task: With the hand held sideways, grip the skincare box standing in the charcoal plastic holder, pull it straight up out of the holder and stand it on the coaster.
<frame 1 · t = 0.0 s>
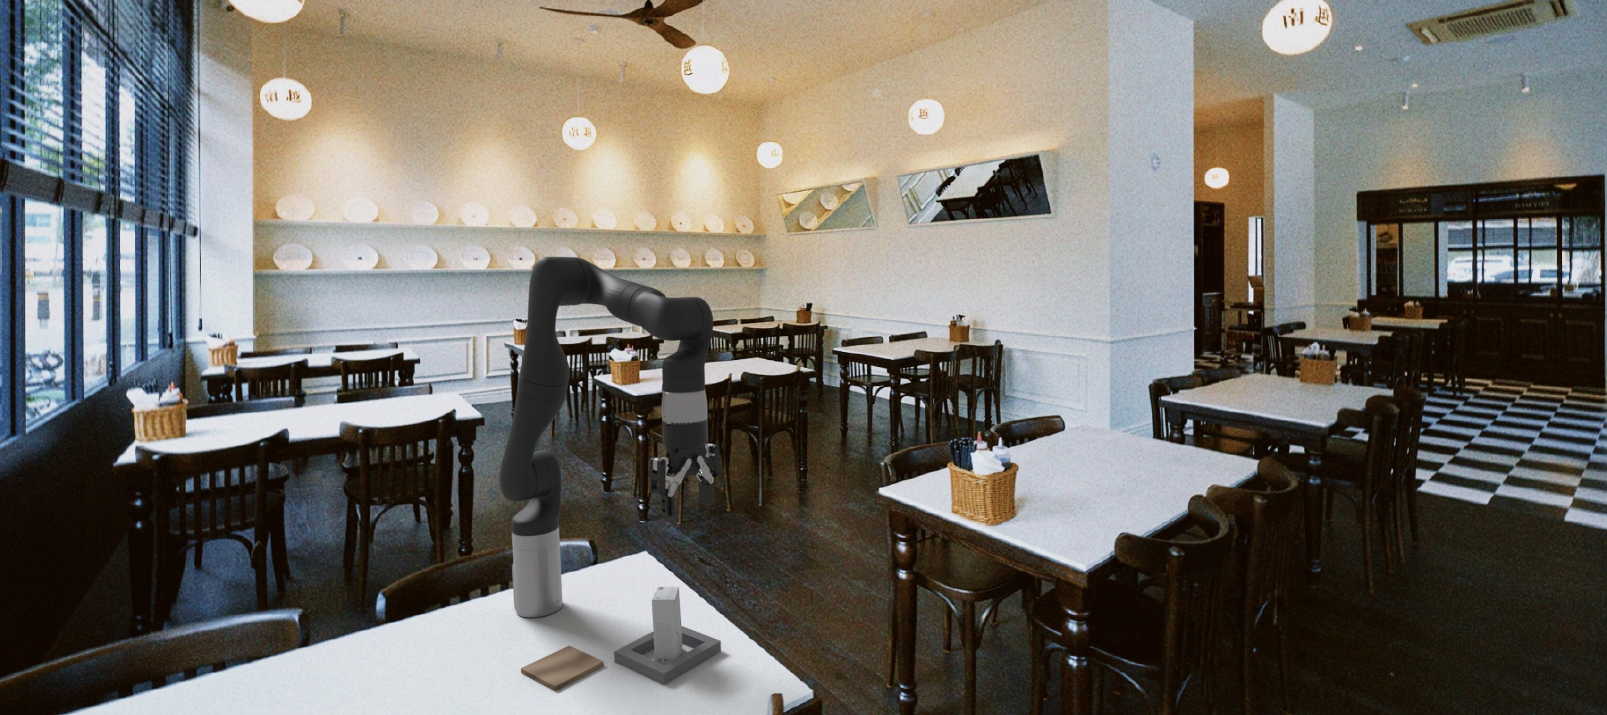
hand: (687, 510, 125), 29 cm above the table, tool pointing down, fingers open, 8 cm apart
skincare box: (668, 657, 135), resting in socket block
coaster: (562, 669, 131), on the table
socket block: (668, 656, 135), on the table
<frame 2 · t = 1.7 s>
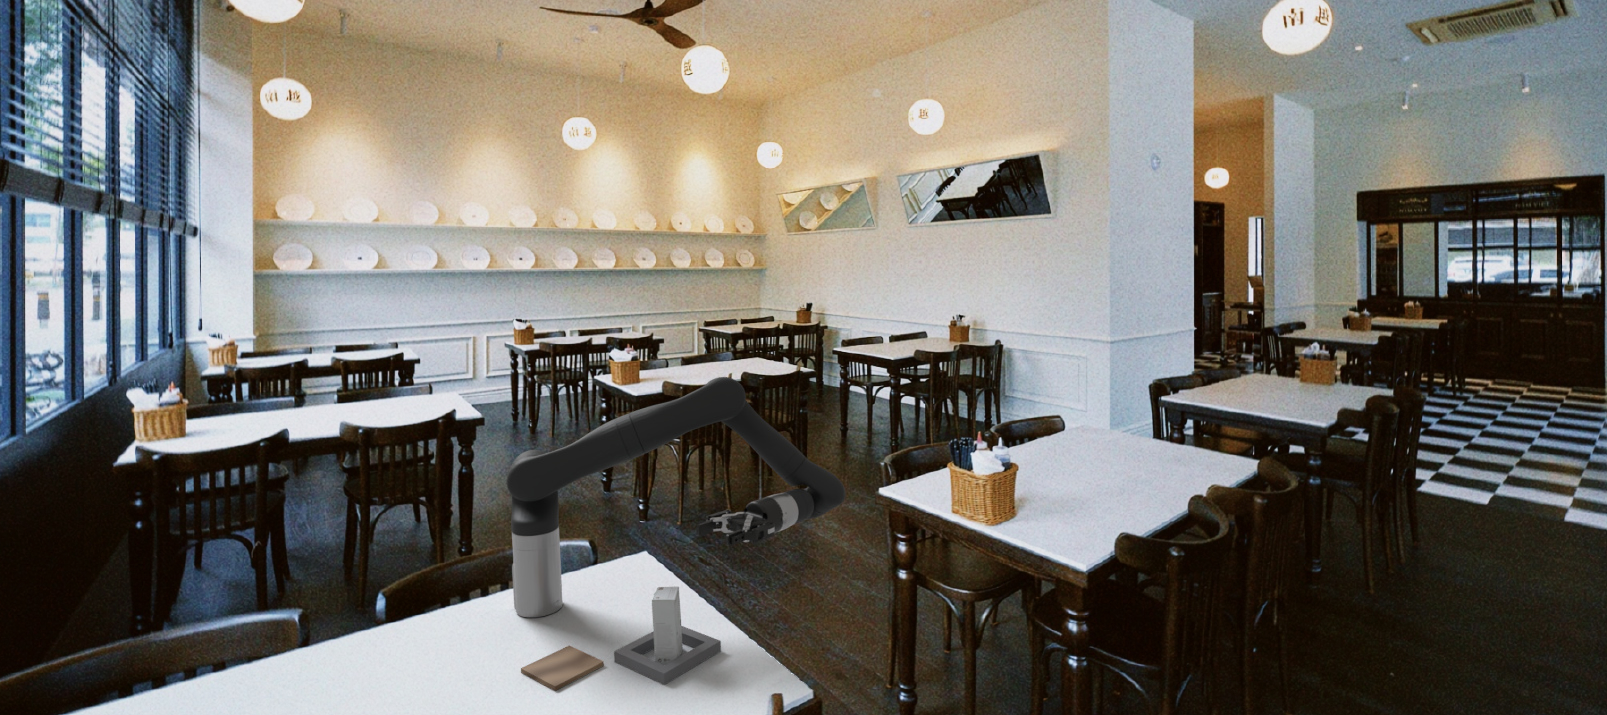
hand: (712, 535, 141), 20 cm above the table, tool horizontal, fingers open, 8 cm apart
nothing on the table moved.
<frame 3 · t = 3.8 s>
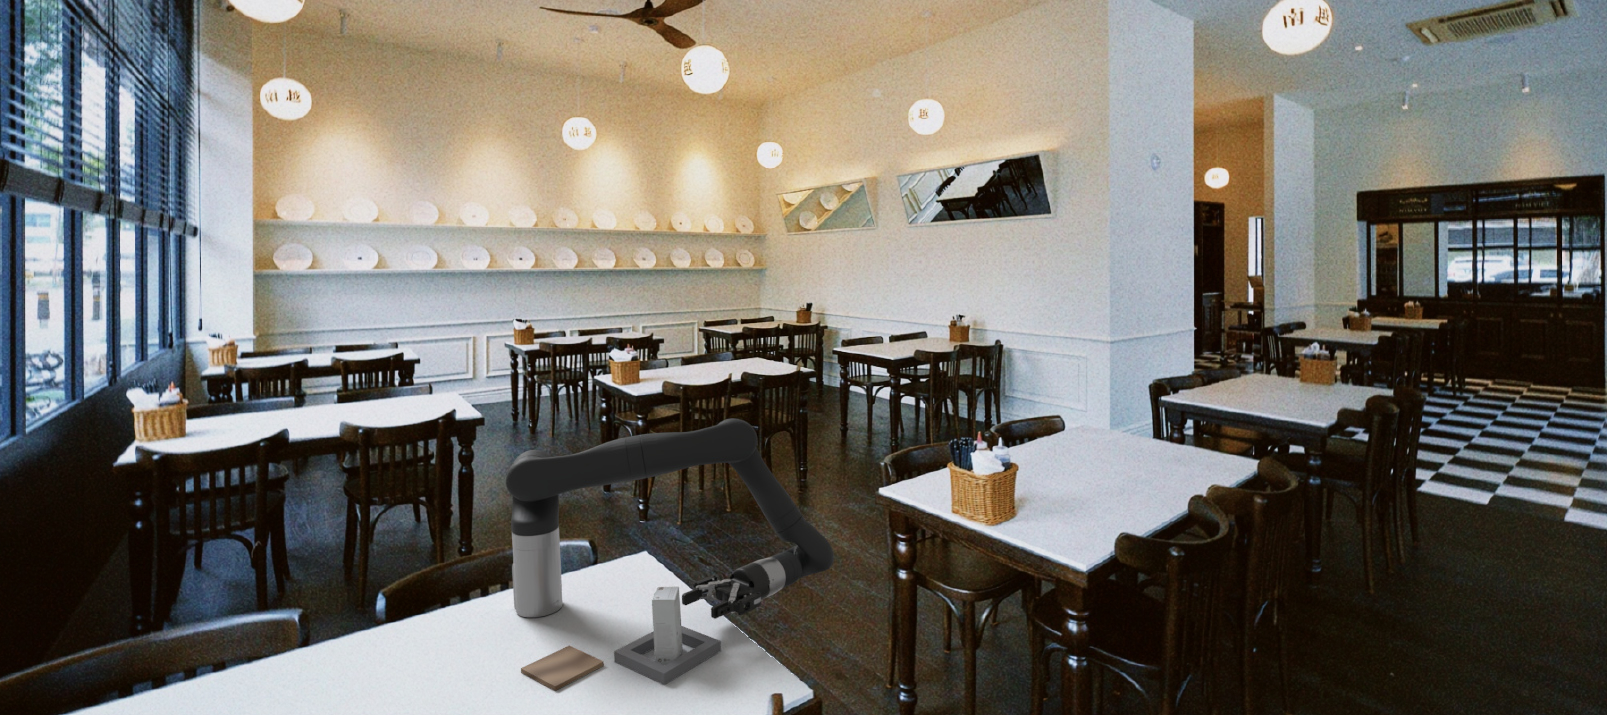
hand: (697, 606, 140), 7 cm above the table, tool horizontal, fingers open, 8 cm apart
nothing on the table moved.
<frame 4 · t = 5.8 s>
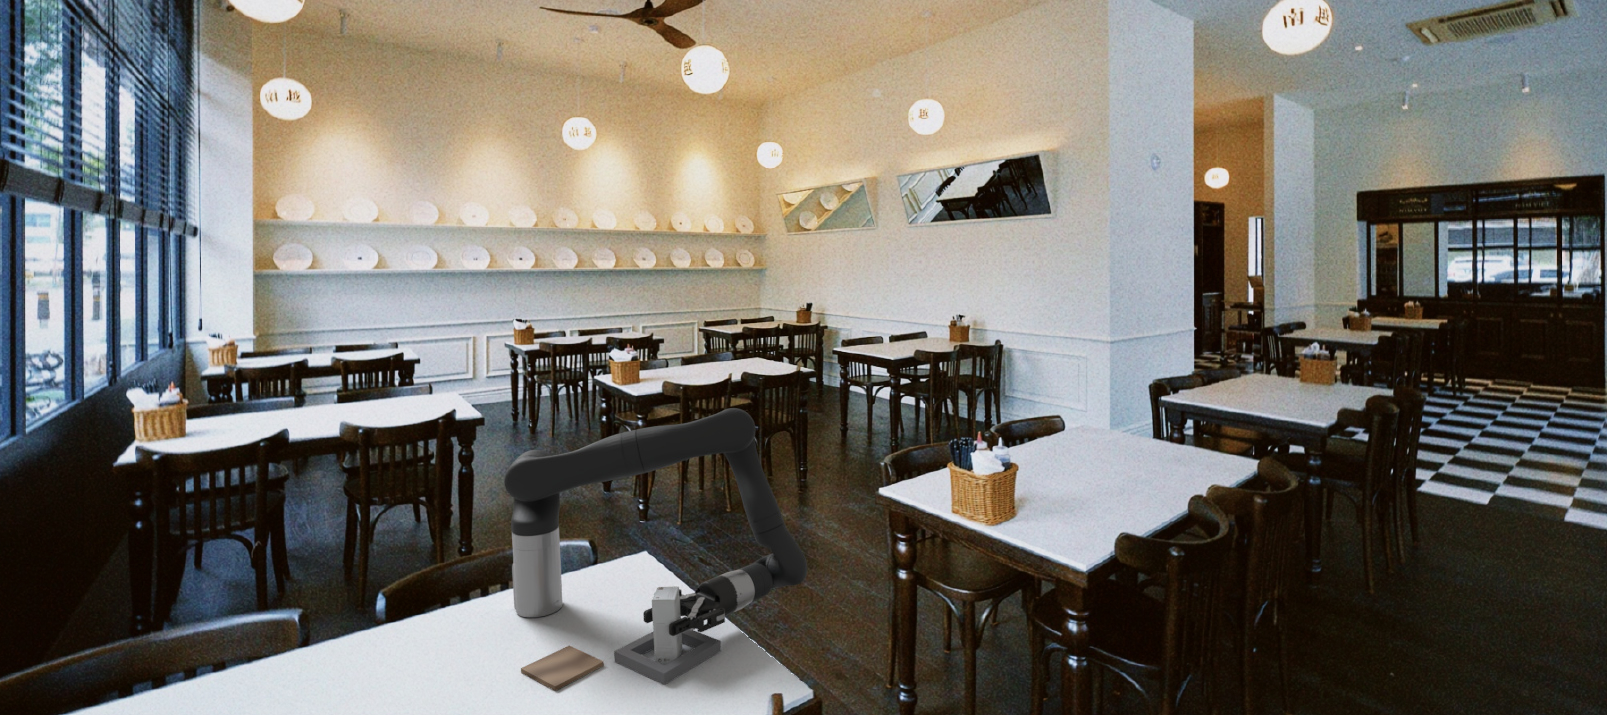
hand: (657, 623, 132), 7 cm above the table, tool horizontal, fingers closed on skincare box, 7 cm apart
skincare box: (668, 657, 135), resting in socket block, touching gripper
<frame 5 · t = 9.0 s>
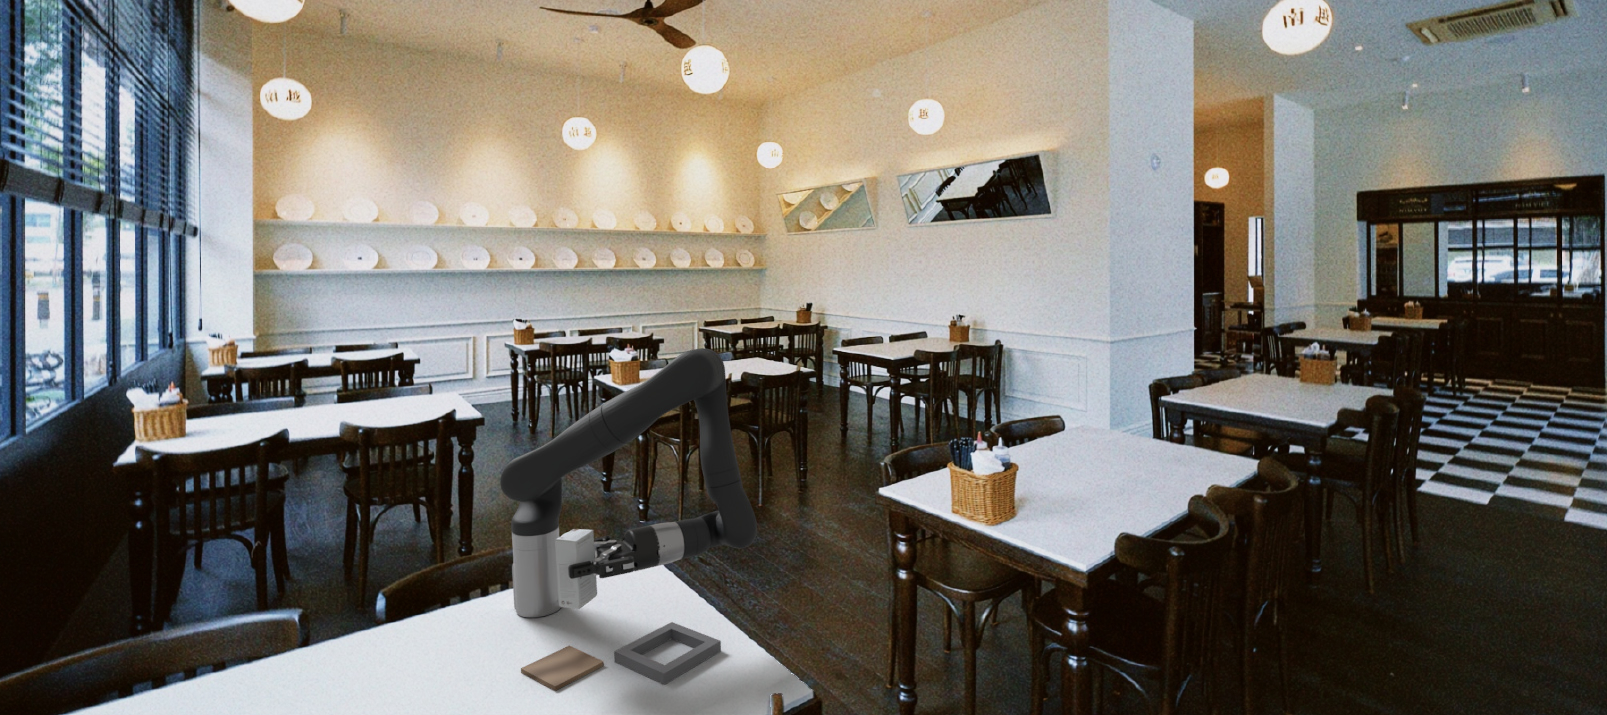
hand: (563, 565, 128), 19 cm above the table, tool horizontal, fingers closed on skincare box, 7 cm apart
skincare box: (578, 601, 130), point 12 cm above the table, touching gripper
when the fingers open (9 cm above the table, at t = 12.4 s): skincare box stays where it is, resting on coaster.
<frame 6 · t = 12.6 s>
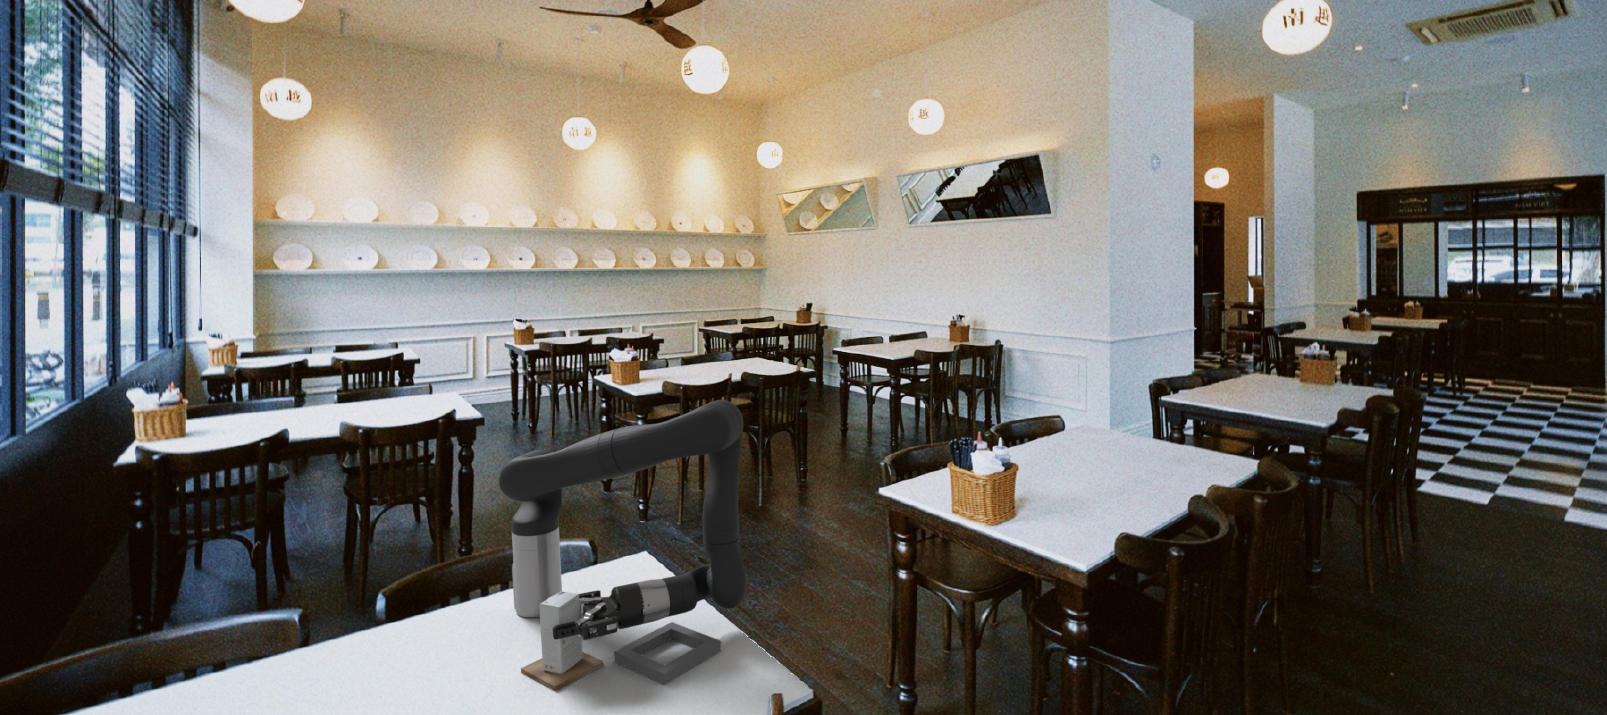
hand: (548, 623, 129), 9 cm above the table, tool horizontal, fingers open, 8 cm apart
skincare box: (563, 665, 131), point 1 cm above the table, touching coaster
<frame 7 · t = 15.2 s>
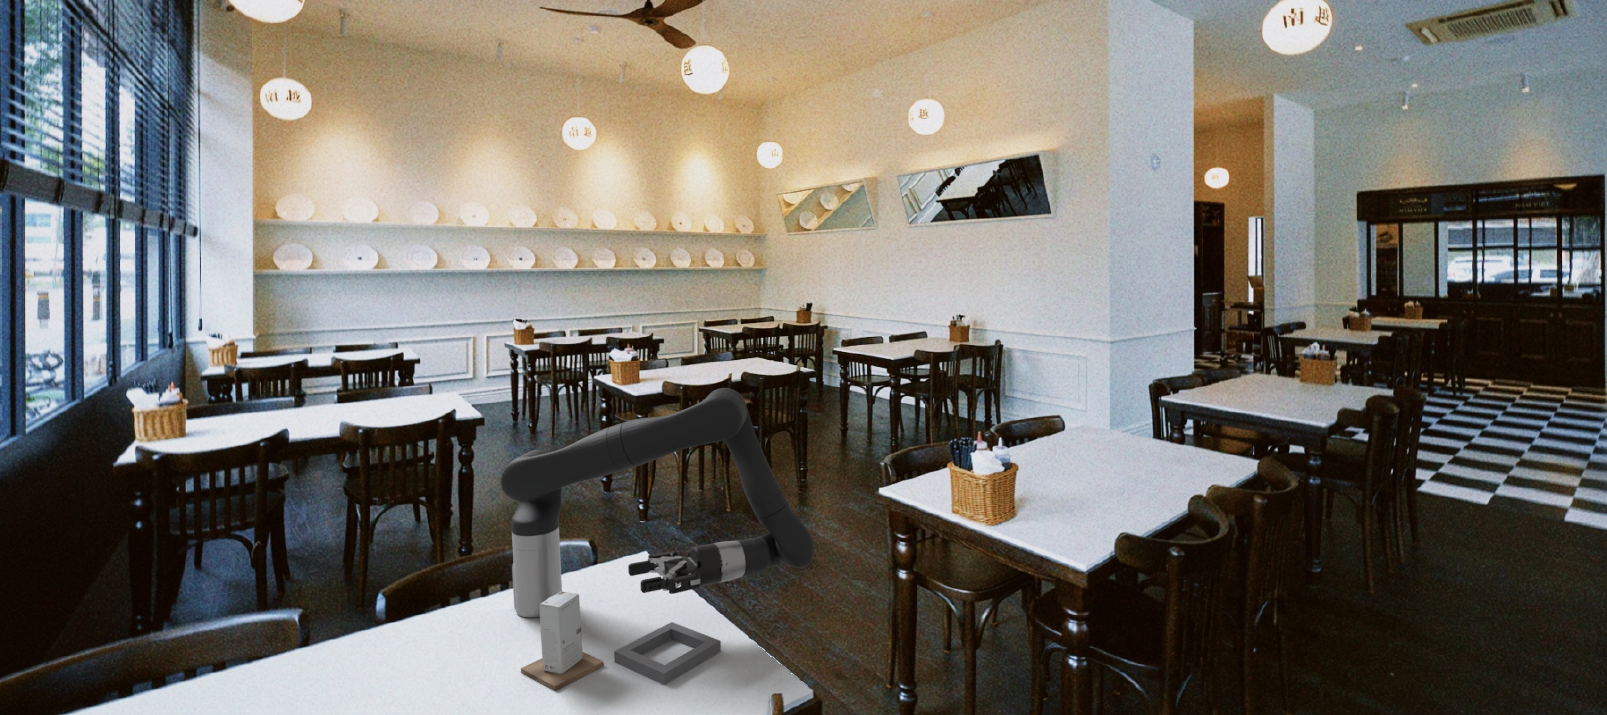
hand: (634, 578, 136), 14 cm above the table, tool horizontal, fingers open, 8 cm apart
nothing on the table moved.
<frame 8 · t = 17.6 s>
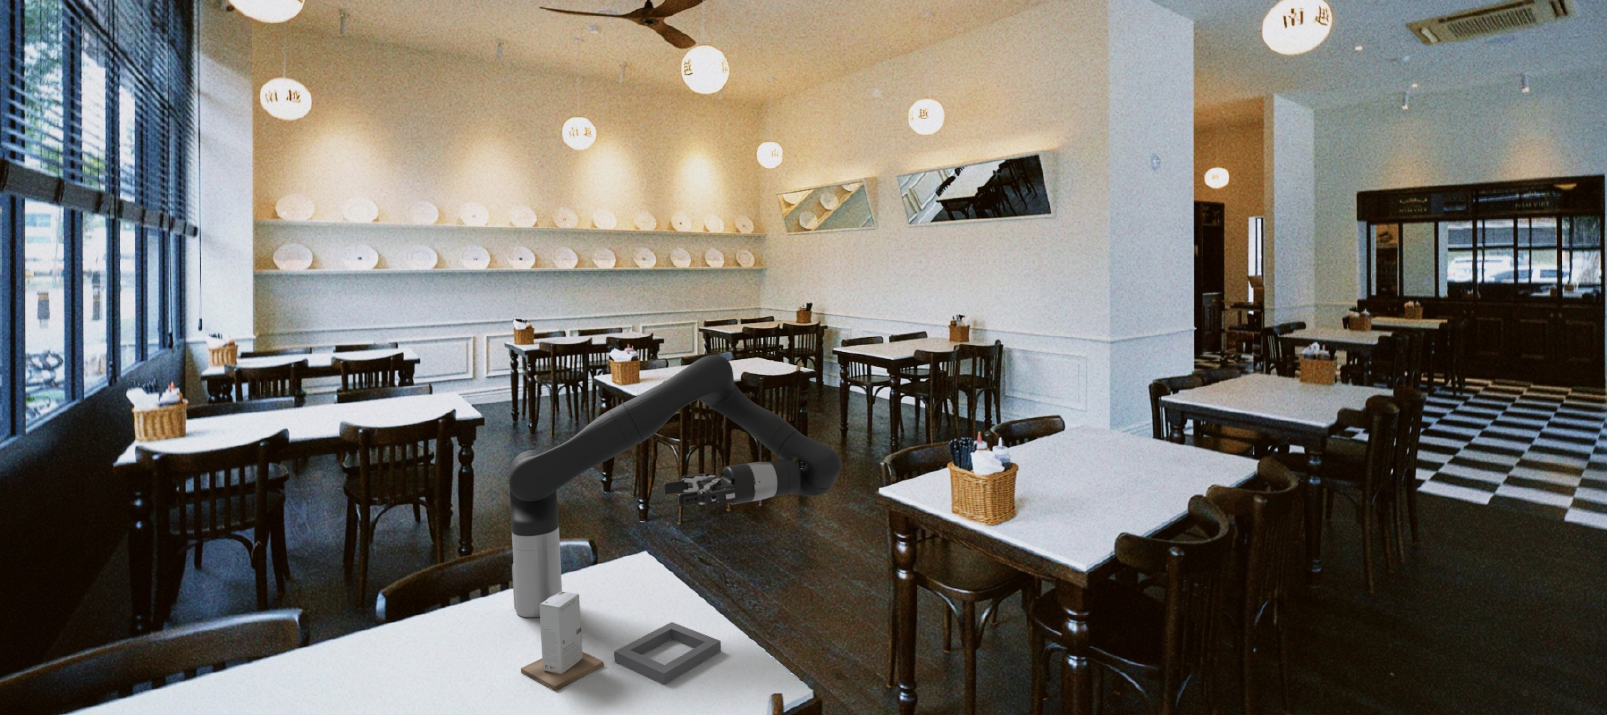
hand: (671, 494, 140), 28 cm above the table, tool horizontal, fingers open, 8 cm apart
nothing on the table moved.
at the end: skincare box inside the target area on the coaster (0.2 cm from its centre), point 0.6 cm above the coaster's base; skincare box tilted 0°; the gripper is holding nothing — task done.
